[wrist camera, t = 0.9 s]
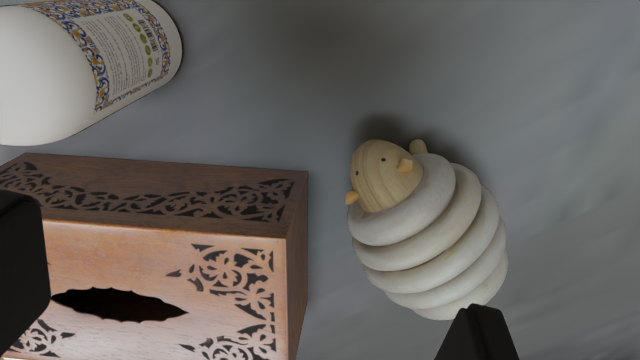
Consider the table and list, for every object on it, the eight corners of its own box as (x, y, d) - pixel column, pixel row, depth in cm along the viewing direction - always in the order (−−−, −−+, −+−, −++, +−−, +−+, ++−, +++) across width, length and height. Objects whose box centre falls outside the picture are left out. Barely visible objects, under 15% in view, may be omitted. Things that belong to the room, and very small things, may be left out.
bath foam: (134, -29, 30) (-211, -24, 12) (203, 50, 32) (-10, 152, 14) (79, 34, 33) (-273, 113, 15) (146, 103, 35) (-95, 247, 17)
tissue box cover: (66, 278, 45) (-11, 355, 36) (25, 152, 38) (-81, 208, 29) (307, 301, 42) (289, 390, 33) (307, 171, 36) (285, 238, 27)
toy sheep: (415, 80, 31) (434, 132, 21) (530, 235, 36) (590, 336, 26) (309, 160, 35) (284, 234, 25) (425, 290, 40) (442, 396, 30)
